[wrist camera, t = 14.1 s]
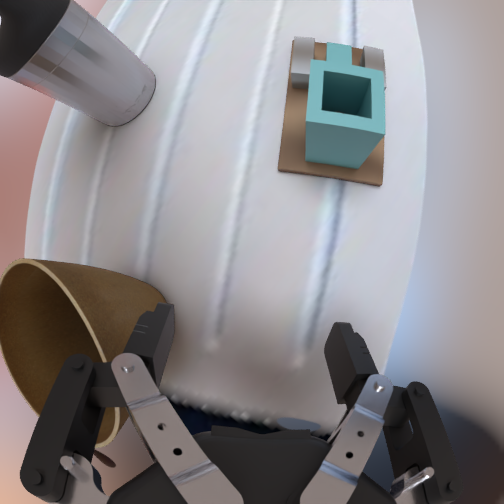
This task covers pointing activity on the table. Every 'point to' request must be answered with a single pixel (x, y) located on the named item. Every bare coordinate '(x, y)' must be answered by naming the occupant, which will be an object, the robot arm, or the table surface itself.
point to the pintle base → (299, 138)
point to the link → (343, 110)
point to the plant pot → (67, 324)
